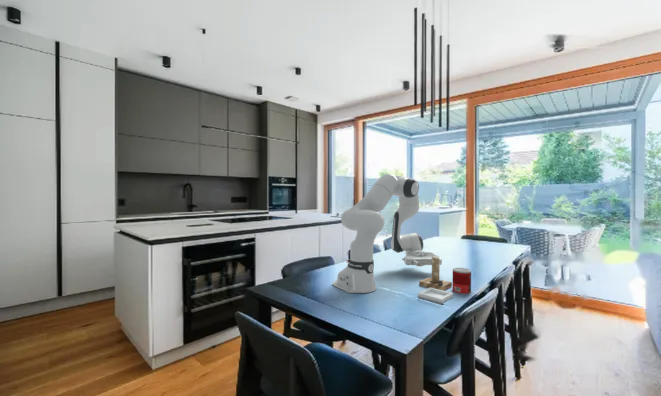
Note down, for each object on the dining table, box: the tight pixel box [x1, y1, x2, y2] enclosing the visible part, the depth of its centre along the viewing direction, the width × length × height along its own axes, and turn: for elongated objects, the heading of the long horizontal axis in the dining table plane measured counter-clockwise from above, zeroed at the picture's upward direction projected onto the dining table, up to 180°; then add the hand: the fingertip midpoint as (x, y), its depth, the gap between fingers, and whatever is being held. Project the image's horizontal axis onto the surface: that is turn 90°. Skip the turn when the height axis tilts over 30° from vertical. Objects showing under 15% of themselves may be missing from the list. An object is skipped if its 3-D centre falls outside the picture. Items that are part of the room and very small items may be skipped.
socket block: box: [418, 277, 453, 291], centre depth 148 cm, size 12×10×5 cm
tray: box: [417, 287, 454, 306], centre depth 133 cm, size 11×11×2 cm
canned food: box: [452, 267, 472, 295], centre depth 140 cm, size 8×8×11 cm
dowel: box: [431, 256, 441, 284], centre depth 147 cm, size 4×4×14 cm
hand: (427, 264), depth 159 cm, fingers open, 8 cm apart
